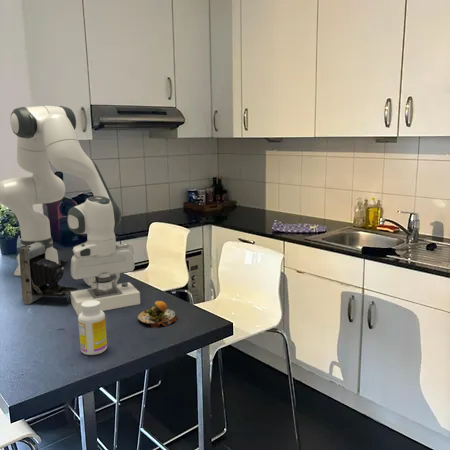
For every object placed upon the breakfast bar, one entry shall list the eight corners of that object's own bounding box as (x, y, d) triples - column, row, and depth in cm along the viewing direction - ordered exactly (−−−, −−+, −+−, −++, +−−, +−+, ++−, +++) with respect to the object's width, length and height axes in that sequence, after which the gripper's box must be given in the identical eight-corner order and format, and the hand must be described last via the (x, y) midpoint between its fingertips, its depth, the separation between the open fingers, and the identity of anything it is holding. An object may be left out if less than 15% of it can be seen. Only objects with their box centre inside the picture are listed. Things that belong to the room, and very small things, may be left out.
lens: (95, 299, 151) (93, 270, 149) (111, 296, 154) (109, 268, 152) (98, 305, 146) (96, 275, 144) (115, 302, 149) (114, 272, 147)
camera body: (71, 303, 151) (70, 289, 150) (130, 293, 160) (129, 280, 159) (77, 315, 140) (76, 300, 140) (140, 303, 150) (139, 290, 149)
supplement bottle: (110, 344, 121) (107, 298, 118) (103, 356, 114) (99, 308, 112) (85, 344, 121) (82, 298, 119) (76, 356, 115) (73, 308, 112)
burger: (145, 311, 144) (144, 289, 142) (181, 313, 142) (180, 291, 140) (131, 327, 132) (129, 303, 131) (170, 329, 130) (169, 305, 129)
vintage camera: (63, 309, 147) (61, 249, 143) (21, 304, 150) (17, 245, 146) (78, 299, 156) (77, 243, 153) (38, 294, 159) (36, 239, 156)
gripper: (130, 241, 154) (132, 280, 157) (67, 248, 145) (71, 289, 147) (136, 245, 148) (138, 285, 151) (71, 252, 139) (74, 295, 142)
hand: (104, 287), depth 149 cm, fingers closed on lens, 5 cm apart
